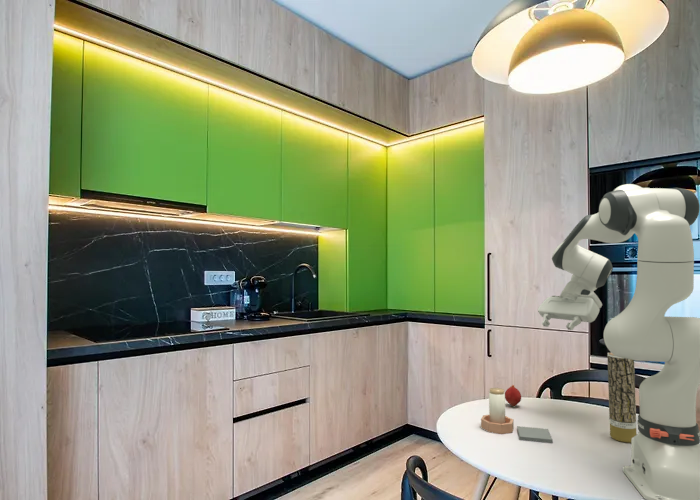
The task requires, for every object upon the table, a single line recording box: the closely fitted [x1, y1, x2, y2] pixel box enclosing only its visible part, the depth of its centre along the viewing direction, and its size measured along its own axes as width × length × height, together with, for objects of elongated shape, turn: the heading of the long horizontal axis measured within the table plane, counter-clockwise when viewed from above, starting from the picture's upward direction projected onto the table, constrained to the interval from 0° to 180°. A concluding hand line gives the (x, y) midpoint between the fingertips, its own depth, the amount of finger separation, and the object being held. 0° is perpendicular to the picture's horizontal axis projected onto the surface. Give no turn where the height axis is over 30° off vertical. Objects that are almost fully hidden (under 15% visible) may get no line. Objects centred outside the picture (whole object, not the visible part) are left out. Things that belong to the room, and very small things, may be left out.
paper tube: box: [606, 352, 638, 444], centre depth 131 cm, size 7×7×25 cm
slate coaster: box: [516, 426, 554, 444], centre depth 133 cm, size 9×9×1 cm
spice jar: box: [488, 387, 506, 424], centre depth 140 cm, size 5×5×11 cm
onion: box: [504, 384, 522, 407], centre depth 162 cm, size 6×6×8 cm
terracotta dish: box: [480, 414, 515, 435], centre depth 139 cm, size 9×9×3 cm
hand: (556, 327), depth 147 cm, fingers open, 8 cm apart
